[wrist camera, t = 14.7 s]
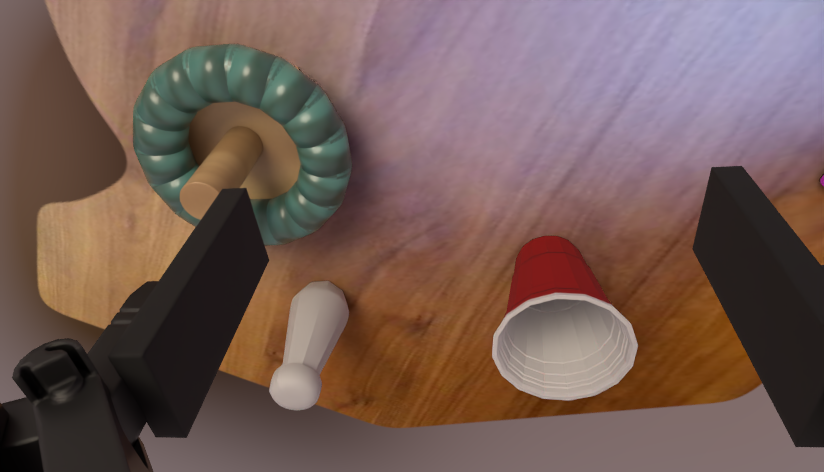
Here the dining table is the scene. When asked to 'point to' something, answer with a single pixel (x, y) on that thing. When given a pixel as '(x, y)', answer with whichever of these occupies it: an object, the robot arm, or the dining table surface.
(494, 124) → the dining table surface
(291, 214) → the ring
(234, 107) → the peg stand
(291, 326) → the salt shaker
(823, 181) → the smartphone
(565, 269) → the plastic cup
